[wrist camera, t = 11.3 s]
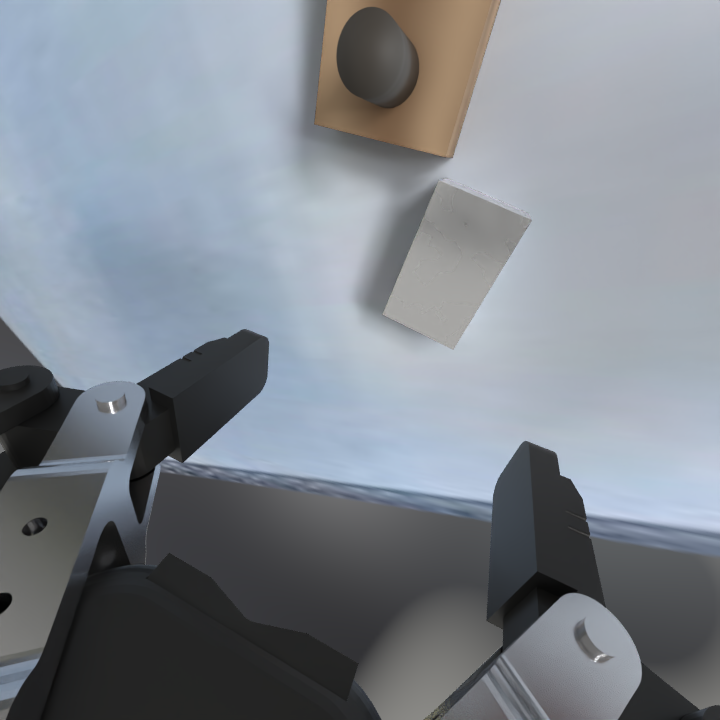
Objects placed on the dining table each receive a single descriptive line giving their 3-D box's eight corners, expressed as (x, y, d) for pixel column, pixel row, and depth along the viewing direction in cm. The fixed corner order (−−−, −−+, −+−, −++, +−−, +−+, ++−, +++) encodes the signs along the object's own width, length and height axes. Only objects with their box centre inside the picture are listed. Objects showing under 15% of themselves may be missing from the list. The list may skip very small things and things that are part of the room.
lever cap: (528, 212, 21) (531, 220, 18) (459, 329, 26) (453, 349, 23) (447, 177, 22) (438, 180, 19) (395, 298, 27) (382, 314, 24)
